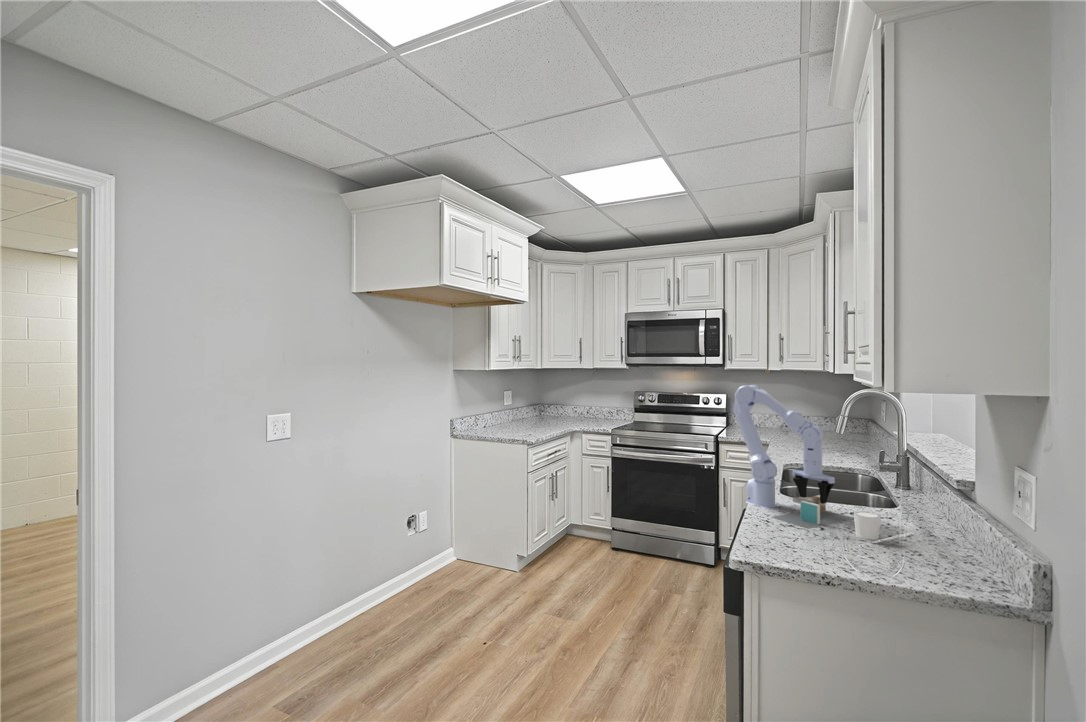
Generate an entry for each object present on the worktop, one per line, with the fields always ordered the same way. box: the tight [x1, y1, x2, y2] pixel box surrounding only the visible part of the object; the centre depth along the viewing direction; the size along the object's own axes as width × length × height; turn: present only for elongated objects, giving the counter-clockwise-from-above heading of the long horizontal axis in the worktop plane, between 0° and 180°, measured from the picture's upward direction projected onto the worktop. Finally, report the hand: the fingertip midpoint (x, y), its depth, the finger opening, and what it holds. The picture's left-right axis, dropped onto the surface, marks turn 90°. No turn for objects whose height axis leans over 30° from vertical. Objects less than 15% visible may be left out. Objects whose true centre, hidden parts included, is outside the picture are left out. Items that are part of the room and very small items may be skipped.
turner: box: [792, 494, 827, 512], centre depth 178 cm, size 12×5×5 cm, turn 117°
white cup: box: [853, 511, 882, 542], centre depth 153 cm, size 7×7×7 cm
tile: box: [800, 501, 820, 525], centre depth 168 cm, size 6×1×6 cm, turn 27°
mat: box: [770, 510, 854, 530], centre depth 172 cm, size 14×24×1 cm, turn 117°
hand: (813, 500), depth 179 cm, fingers open, 7 cm apart
